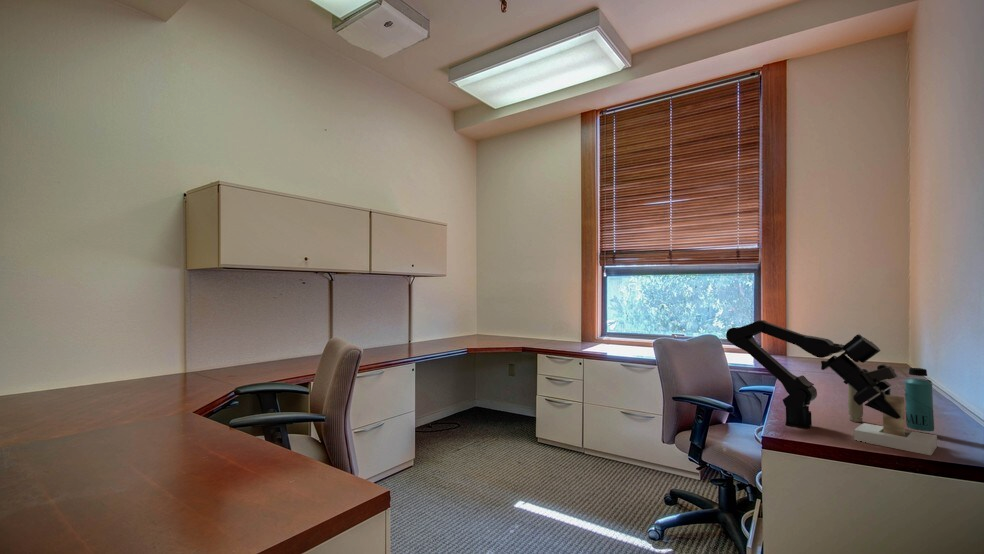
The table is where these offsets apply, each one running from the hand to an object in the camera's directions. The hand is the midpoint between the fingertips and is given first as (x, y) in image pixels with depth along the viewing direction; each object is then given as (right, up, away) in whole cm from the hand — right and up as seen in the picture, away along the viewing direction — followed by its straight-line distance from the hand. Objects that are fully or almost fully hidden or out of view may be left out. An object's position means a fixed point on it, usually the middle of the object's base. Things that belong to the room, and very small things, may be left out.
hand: (900, 416), depth 126 cm
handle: (+7, -9, +24) cm, 27 cm away
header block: (-1, -8, +1) cm, 8 cm away
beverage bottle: (+16, -9, +11) cm, 21 cm away
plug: (-1, -7, +1) cm, 7 cm away
